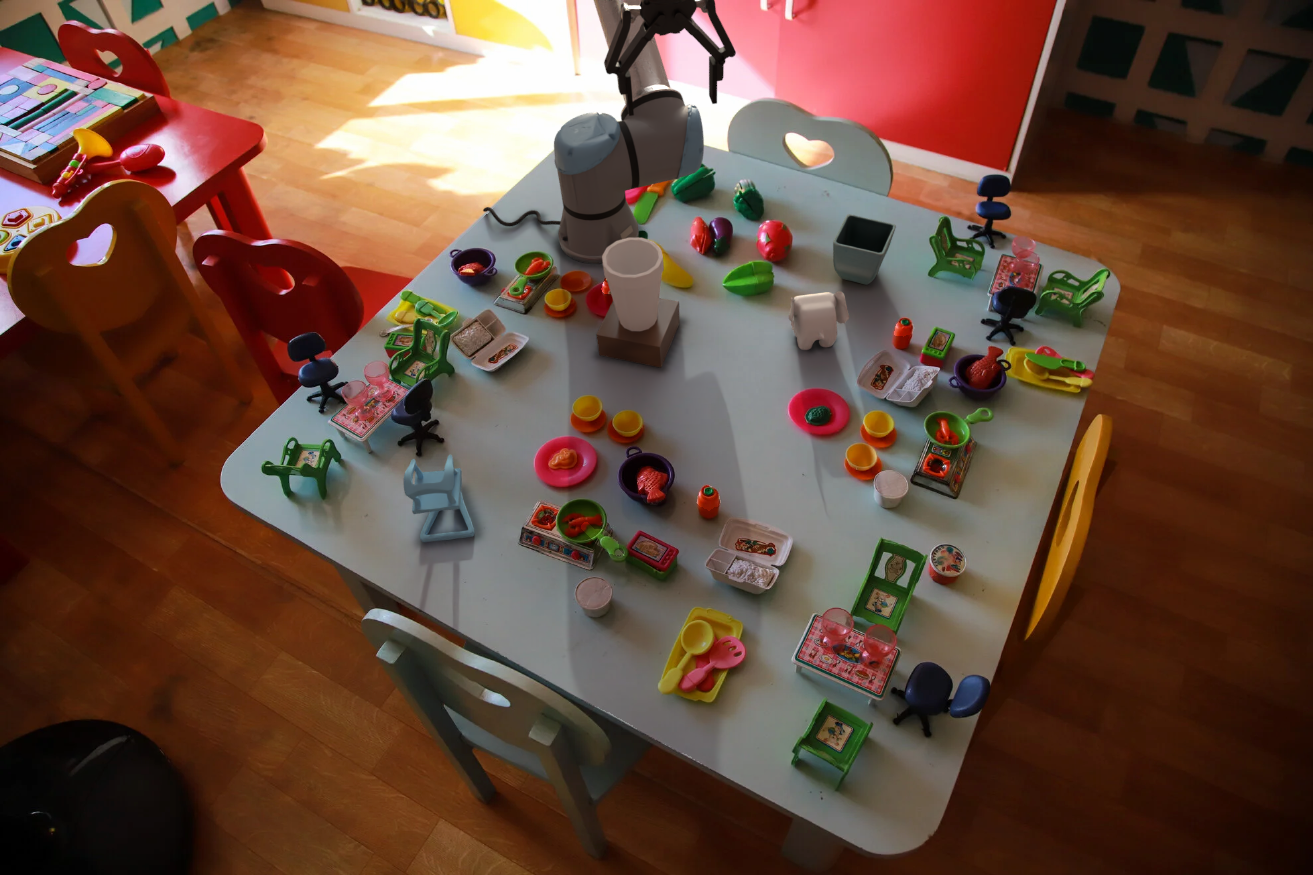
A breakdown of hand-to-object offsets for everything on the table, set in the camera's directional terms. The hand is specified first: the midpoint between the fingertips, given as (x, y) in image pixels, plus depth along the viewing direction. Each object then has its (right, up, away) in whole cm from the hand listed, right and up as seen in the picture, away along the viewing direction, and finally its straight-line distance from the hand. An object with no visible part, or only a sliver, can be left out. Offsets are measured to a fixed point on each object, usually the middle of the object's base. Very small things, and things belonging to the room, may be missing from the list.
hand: (671, 105), depth 133 cm
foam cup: (-5, -34, +4) cm, 35 cm away
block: (-5, -37, +8) cm, 38 cm away
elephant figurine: (+24, -36, +7) cm, 44 cm away
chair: (-33, -65, -12) cm, 74 cm away
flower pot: (+34, -24, +15) cm, 44 cm away
